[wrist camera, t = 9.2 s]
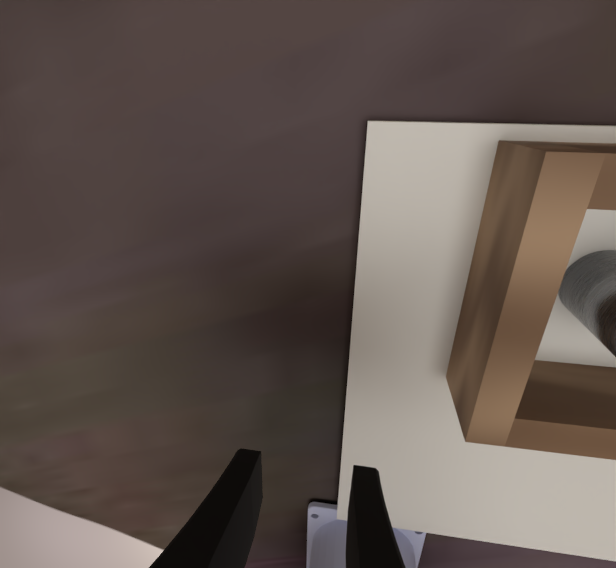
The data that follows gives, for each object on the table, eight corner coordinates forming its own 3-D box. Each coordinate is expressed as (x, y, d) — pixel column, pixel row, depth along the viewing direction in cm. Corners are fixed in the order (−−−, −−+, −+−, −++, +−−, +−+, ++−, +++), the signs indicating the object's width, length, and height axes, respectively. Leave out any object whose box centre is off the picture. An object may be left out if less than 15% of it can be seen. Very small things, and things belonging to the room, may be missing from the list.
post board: (658, 548, 23) (758, 697, 17) (337, 501, 25) (329, 618, 20) (957, 132, 13) (1464, 153, 7) (367, 120, 15) (368, 127, 9)
